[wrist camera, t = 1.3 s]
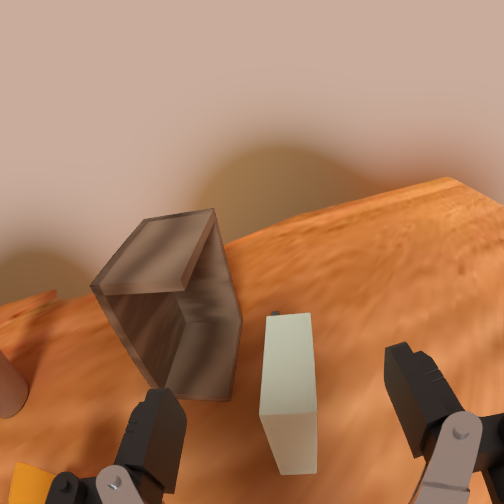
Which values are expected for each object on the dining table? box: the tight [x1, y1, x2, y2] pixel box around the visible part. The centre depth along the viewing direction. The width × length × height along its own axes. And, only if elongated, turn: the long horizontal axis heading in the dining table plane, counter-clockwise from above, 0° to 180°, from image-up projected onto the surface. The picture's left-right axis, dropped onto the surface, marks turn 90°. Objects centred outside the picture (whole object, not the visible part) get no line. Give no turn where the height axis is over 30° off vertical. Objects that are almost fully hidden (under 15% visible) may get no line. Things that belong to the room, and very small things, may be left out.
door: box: [259, 313, 317, 475], centre depth 23 cm, size 4×9×14 cm, turn 176°
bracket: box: [8, 462, 57, 504], centre depth 16 cm, size 11×7×12 cm
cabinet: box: [90, 208, 280, 401], centre depth 34 cm, size 15×14×18 cm
